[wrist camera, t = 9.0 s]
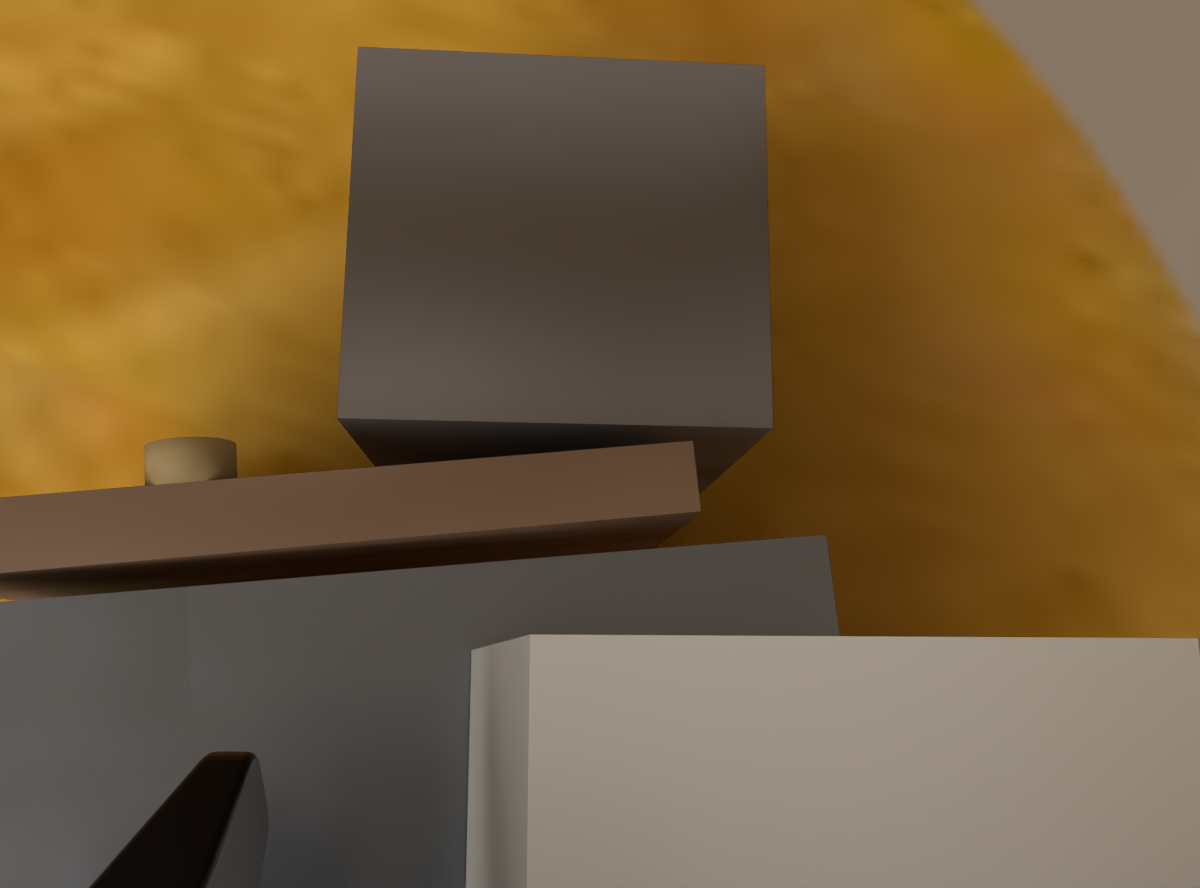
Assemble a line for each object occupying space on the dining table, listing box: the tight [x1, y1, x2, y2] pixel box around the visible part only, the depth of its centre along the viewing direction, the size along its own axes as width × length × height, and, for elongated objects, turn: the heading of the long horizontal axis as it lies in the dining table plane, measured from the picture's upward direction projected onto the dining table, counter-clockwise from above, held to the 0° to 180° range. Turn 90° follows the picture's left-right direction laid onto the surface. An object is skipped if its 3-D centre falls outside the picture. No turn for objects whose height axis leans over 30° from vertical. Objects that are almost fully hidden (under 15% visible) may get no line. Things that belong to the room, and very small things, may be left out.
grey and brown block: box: [0, 535, 840, 888], centre depth 17 cm, size 8×12×6 cm, turn 96°
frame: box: [0, 437, 701, 600], centre depth 17 cm, size 12×11×8 cm
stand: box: [337, 47, 773, 494], centre depth 20 cm, size 6×6×7 cm
